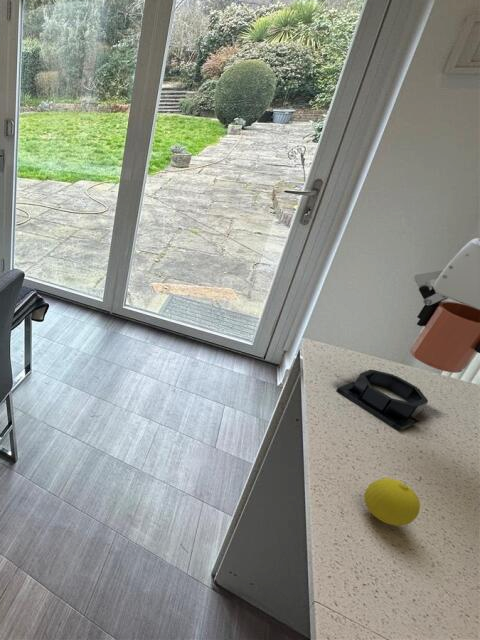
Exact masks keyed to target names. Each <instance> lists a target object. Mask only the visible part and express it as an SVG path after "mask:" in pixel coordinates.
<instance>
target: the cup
mask: <svg viewBox="0 0 480 640" xmlns="http://www.w3.org/2000/svg"><path fill="white" fill-rule="evenodd" d="M479 343H480V310H478V309H475V308H473V307H470V306H468V305H465V304H462V303H460V302H457V301H446V300H444V301H442V302H440V303H439V304H438V306H437V307H436V309H435V310H434V312H433V313H432V315H431V316H430V318H429V320H428V321H427V323H426V324H425V326H422V329H421V330H420V331H419V333H418V335H417V336H416V337H415V338H414V340H413V342H412V344H411V345H410V347H409V349H408V352H409V353H410V355H411V356H412V357H413V358H414V359H416V360H418V361H419V362H420V363H423V364H424V365H426V366H428V367H430V368H434V369H436V370H439V371H443V372H447V373H453V374H454V373H455V374H457V373H459V374H460V373H462V372H463V371H464V370H465V369H466V368H467V366H469V364H470V363H471V361H472V360H473V359H474V357H476V355H477V353H478V352H476V350H475V348H476V347H477V346H478V344H479Z"/></svg>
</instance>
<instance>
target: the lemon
mask: <svg viewBox="0 0 480 640" xmlns="http://www.w3.org/2000/svg"><path fill="white" fill-rule="evenodd" d="M363 496H364V497H363V499H364V500H363V501H364V503H365V506H366V508H367V510H368V511H369V512H370V513H371V514H372V515H373V517H375V518H376V519H378V520H379V521H381V522H382V523H385V524H386V525H387V524H388V525H391V526H395V527H396V526H397V527H399V526H400V527H401V526H406V525H409V524H411V523H412V522H414V521H415V519H417V517H418V515H419V513H420V508H421V502H420V499H419V496H418V495H417V493H416V492H415V491H414V490H413V489H412V488H411V487H410V486H409V485H408V484H405V483H404V482H403V481H401V480H398V479H394V478H389V477H384V478H379V479H377V480H374V481H373V482H370V484H369V485H368V486H367V487H366V489H365V491H364V495H363Z"/></svg>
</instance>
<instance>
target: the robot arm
mask: <svg viewBox="0 0 480 640" xmlns="http://www.w3.org/2000/svg"><path fill="white" fill-rule="evenodd" d="M413 279H414V281H415V283H416V285H417V287H418V291H419V293H420V295H421V297H422V299H423V301H422V302H423V304H424V306H423V307H422V309H421V310H420V312H419V313H418V314H417V317H416V318H417V319H418V321H417V323H416V326H419V327H424V326H425V324H426V323H427V321H428V320H429V318H430V316H431V315H432V313H433V312H434V310H435V309H436V307H437V306H438V304H439V303H440V302H444V301H446V300H448V299H450V300H452V301H454V302H456V303H461V304H465V305H468V306H470V307H473V308H475V309H478V310H480V236H479V237H476V238H473V239H471V240H470V241H468V242H467V243H466V244H465V245H464V246H463V247H462V248H461V249H460V250H459V251H458V252H457V253H456V254H455V255H454V257H453V258H452V259H451V260H450V261H449V262H448V264H446V266H445V267H444V269H442V270H435V271H430V272H423V273H418V274H415V275H414V277H413ZM431 280H435V282H434V283H433V285H431ZM475 350H476V352H477V353H478V354H480V343H479V344H478V346H477V347H476V348H475Z"/></svg>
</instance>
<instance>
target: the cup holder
mask: <svg viewBox="0 0 480 640" xmlns="http://www.w3.org/2000/svg"><path fill="white" fill-rule="evenodd" d="M374 386H375V387H379V388H383V389H387V390H389V391H390V392H392V393H394V394H395V395H397V396H399V397H400V398H402V399H404V400H405V401H404V400H401V399H397V398H393V397H391V396H389V395H388V394H385V393H384V392H382V391H380V390H379V389H377V388H375V387H374ZM335 391H336V392H337V393H339V394H341V395H342V396H343V397H345V398H347V399H348V400H350V401H351V402H352V403H354V404H355V405H357V406H359V407H361V408H362V409H363V410H365V411H367V412H368V413H370V414H372V415H373V416H375V418H377V419H379V420H380V421H382V422H384V423H386V424H387V425H389V426H390V427H392V428H393V429H395V430H396V431H398V432H402V431H404V430H405V429H407V428H409V427H411V426H413V425H415V424H417V423H419V422H420V421H419V420H418V419H416V418H415V416H418V415H420V413H421V412H422V411H423V410H424V408H425V407H426V405H427V404H428V403H429V400H428V399H427V398H426V396H425V395H424V393H423V391H421V389H420V388H419V387H417V386H416V385H414V384H412V383H410V382H409V381H407V380H405V379H404V378H401V377H399V376H397V375H395V374H392V373H388V372H384V371H380V370H376V369H368V370H366V371H363V372H360V374H359V375H358V377H357V378H356V380H355V382H354V381H351V382H349V383H346V384H344V385H340V386H339V387H337V389H335Z"/></svg>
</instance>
